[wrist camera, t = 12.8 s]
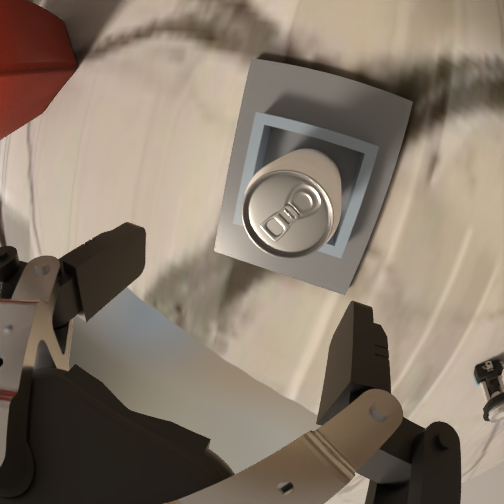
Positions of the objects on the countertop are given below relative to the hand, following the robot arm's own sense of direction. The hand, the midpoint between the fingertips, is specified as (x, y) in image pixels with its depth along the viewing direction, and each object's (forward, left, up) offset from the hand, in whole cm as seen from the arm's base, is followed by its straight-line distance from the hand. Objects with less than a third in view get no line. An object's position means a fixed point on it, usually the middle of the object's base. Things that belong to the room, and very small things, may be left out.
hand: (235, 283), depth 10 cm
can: (0, 0, -20) cm, 20 cm away
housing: (0, 0, -21) cm, 21 cm away
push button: (+16, +37, -21) cm, 46 cm away
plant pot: (-11, -44, -21) cm, 50 cm away
